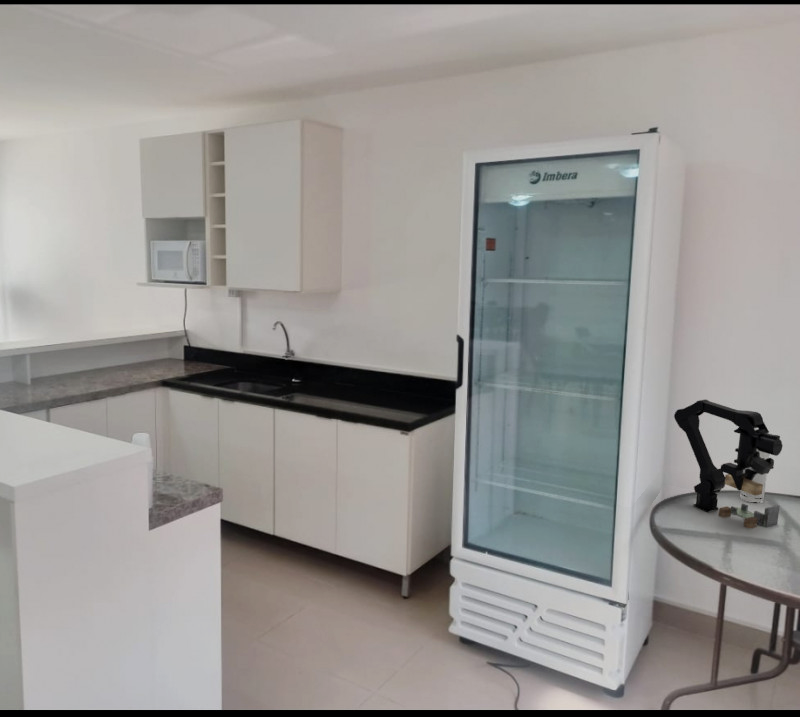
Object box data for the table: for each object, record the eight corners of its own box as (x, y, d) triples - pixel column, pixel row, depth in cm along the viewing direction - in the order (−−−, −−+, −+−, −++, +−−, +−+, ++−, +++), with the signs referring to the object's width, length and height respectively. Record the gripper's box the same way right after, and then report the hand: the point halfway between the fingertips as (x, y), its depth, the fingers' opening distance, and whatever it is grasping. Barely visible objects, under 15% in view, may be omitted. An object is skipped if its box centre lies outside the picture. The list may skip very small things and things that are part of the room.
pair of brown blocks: (718, 515, 234) (719, 508, 234) (725, 513, 236) (726, 506, 235) (748, 528, 224) (749, 520, 223) (756, 526, 225) (757, 518, 225)
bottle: (762, 505, 245) (771, 434, 240) (738, 500, 249) (747, 430, 244) (764, 498, 251) (772, 429, 246) (741, 493, 256) (749, 426, 251)
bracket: (726, 511, 238) (728, 493, 237) (738, 507, 242) (740, 490, 240) (765, 527, 225) (768, 508, 224) (778, 523, 228) (780, 505, 227)
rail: (724, 483, 232) (725, 474, 232) (731, 482, 234) (732, 473, 233) (755, 495, 222) (756, 486, 221) (761, 494, 223) (762, 484, 223)
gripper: (751, 457, 214) (745, 501, 217) (786, 450, 222) (781, 493, 225) (721, 448, 224) (717, 490, 227) (756, 441, 232) (751, 482, 235)
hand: (742, 489), depth 228 cm, fingers closed on rail, 3 cm apart
